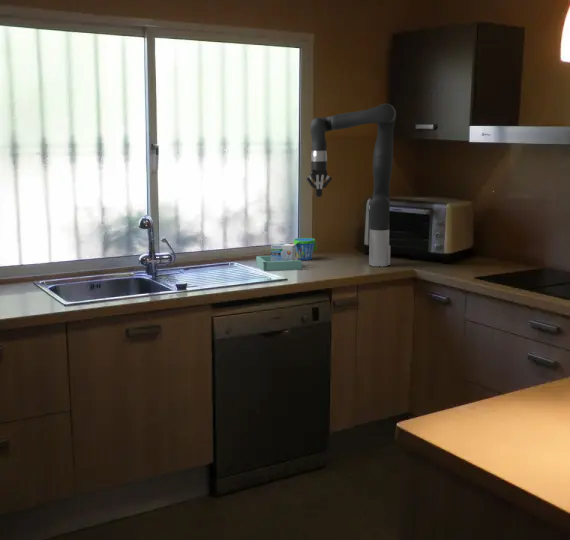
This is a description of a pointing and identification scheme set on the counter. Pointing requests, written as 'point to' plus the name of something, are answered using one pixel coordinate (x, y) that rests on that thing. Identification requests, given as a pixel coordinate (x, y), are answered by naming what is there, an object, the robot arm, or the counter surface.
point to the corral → (277, 264)
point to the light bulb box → (282, 252)
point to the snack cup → (305, 248)
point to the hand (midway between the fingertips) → (318, 196)
